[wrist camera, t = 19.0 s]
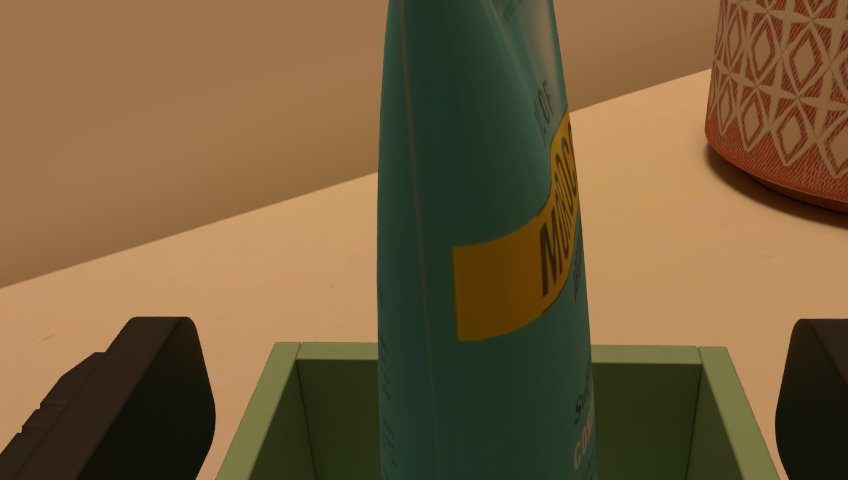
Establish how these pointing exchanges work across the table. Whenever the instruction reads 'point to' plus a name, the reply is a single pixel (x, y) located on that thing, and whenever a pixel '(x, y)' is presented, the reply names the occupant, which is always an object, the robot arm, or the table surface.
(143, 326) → the robot arm
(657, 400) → the basket
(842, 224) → the table surface
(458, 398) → the tube
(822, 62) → the planter
